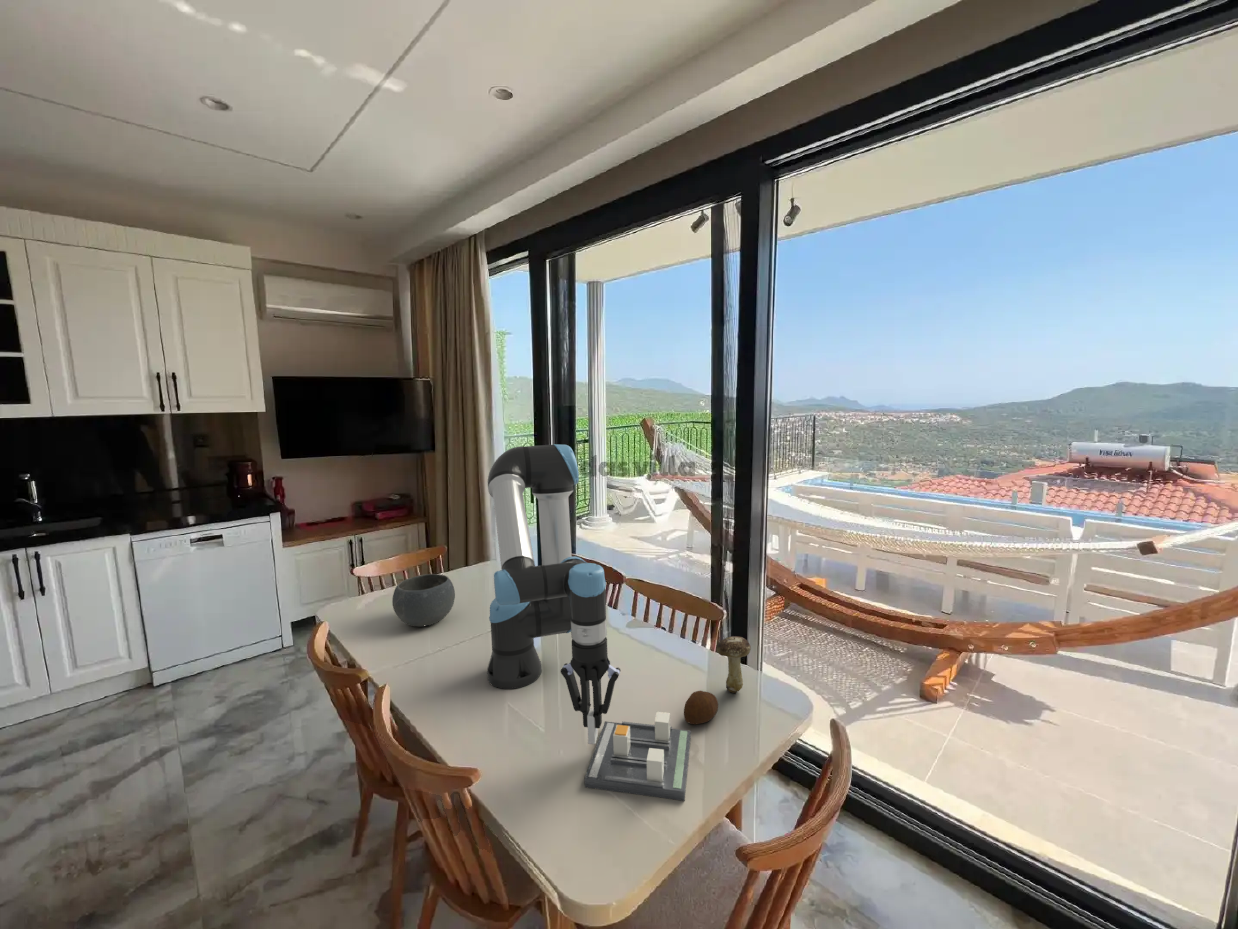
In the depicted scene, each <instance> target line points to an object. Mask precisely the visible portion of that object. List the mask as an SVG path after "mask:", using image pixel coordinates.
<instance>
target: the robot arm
mask: <svg viewBox="0 0 1238 929" xmlns="http://www.w3.org/2000/svg"><path fill="white" fill-rule="evenodd" d="M579 476H580V474H579V467H578V462H577V458H576V456H575V452H574V451H573V449H572V447H571V446H569V445H567V444H557V443H556V444H555V443H554V444H545V445H544V444H543V445H528V446H527V445H526V446H515V447H512V448H511V447H510V448H509V449H507V450H506V451H503V453H502V454H501V455H500V456H498V457H497V459H495V461H494V462H493V464H492V466H491V468H490V470H489V472H488V476H487V477H488V479H487V491H488V494H489V496H490V497H492V499H493V507H494V508H493V509H494V516H495V526H496V534H497V543H498V549H499V552H498V553H499V559H500V567H501V568H500V569H501V570H496V571H495V572H494V574H493V584H494V585H493V586H494V587H493V589H494V599H493V600H492V601H491V603H490V605H489V617H488V619H489V622H490V635H491V637H490V638H491V655H490V658H489V662H488V666H487V669H486V671H487V672H486V677H487V681H489V682H490V683H491V684H492V685H491V684H490V683H489V682H488V683H489V684H490V685H491V686H493V687H495V688H497V687H498V689H503V690H512V689H519V688H522V687H523V688H524V687H526V686H529V685H530V684H532V683H534V682H535V681H537V680H538V679H539V678H540V676H541V675H542V663H541V659H540V657H539V653H538V652H537V649H536V647H535V641H534V640H535V639H536V638H542V637H548V636H555V635H560V634H571V655H572V656H571V657H572V658H571V660H570V662H569V663H568V662H567V663H564V664H563V666H562V668H561V669H560V674H561V675H562V677H563V678H564V680H565V682H566V685H567V690H568V693H569V697H570V700H571V704H572V706H573V707H572V708H573V710H574V711H575V712H580V713H582V725H583V728H587V743H588V744H589V745H596V744H597V741H598V739H599V734H598V733H599V729H601V725H602V722H603V719H602V717H603V714H604V715H607V714H608V711H609V709H610V706H611V702H612V701H611V700H612V697H613V692H614V688H615V684H616V681H617V680H618V679H619V677H620V674H621V668H620V667H615V666H613V665H611V661H610V659H609V657H608V656H609V655H608V639H607V635H608V629H607V606H606V603H607V602H606V601H607V599H606V597H607V596H606V585H607V582H606V579H605V576H606V575H605V570H604V567H603V566H601V565H600V564H597V563H593V562H592V563H591V562H587V561H586V560H584V559H583V558H581V557H579V556H574V555H572V554H573V553H572V540H571V539H572V537H571V523H570V521H571V520H570V517H571V516H570V506H569V505H570V504H569V497H570V495H572V494H573V492H574V486H576V485H577V484H579V481H580V480H579ZM528 488H530V489H531V493H532V495H533V496H534V497H535V498H536V499H537V501H538V502H537V504H538V517H539V519H538V521H539V533H540V534H539V535H540V550H541V565H536V564H535V557H534V551H533V545H532V540H531V534H530V529H529V522H528V517H527V513H526V512H527V510H526V504H525V500H524V495H523V494H524V492H525V489H528ZM574 672H575V673H576V674H577V677H578V678H579V685H580V689H579V686H578V682H577V678H576V675H575V673H574ZM606 672H608V673H607V677H608V679H609V680H608V681H607V682H608V683H607V686H606V691H605V695H604V699H603V701H602V678H603V677H604V675H605V674H606ZM590 681H591V683H590ZM590 684H591V687H592V701H593V702H592V703H591V688H590ZM580 693H581V694H580ZM602 702H603V703H602ZM592 704H593V708H591V706H592Z"/></svg>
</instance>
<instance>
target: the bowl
mask: <svg viewBox="0 0 1238 929" xmlns="http://www.w3.org/2000/svg"><path fill="white" fill-rule="evenodd" d="M455 598H456V592H455V587H454V584H453V582H452V580H451V579H450V578H449V577H448V576H447V575H445V574H439V573H438V574H437V573H427V574H426V573H425V574H421V575H416V576H413V577H409V578H407V579H404V580H402V581H400V582H399V583H398V584H397V585H396V586H395V589H394V590H393V594H392V607H393V608H392V609H393V611H394V614H396V616H397V617H398V619H399V620H400V621H401V622H403V623H404V624H406V625H408V626H412V625H414V626H413V627H425V626H424V625H429V626H431V625H430V624H432V625H434V624H433V623H435V624H437V623H439V622H441V621H442V620H443V619H444V618H445V617H446V616H448V615H449V613H450V612H451V611H452V609H453V606H454V603H455ZM438 621H439V622H438ZM436 622H437V623H436Z"/></svg>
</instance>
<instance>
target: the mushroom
mask: <svg viewBox="0 0 1238 929" xmlns="http://www.w3.org/2000/svg"><path fill="white" fill-rule="evenodd" d="M751 649H752V648H751V644H750V642H749V641H748V640H747V639H746V638H744V637H743V636H738V635H737V636H736V635H735V636H734V635H732V636H728V637H725V638H723V639H722V640H720V641H719V642H718V643H717V645H716V651H717V653H718V654H719V655H720V656H722V657H727V659H728V662H727V665H728V666H727V670H728V674H727V678H726V680H725V689H726V690H727V691H728V692H729V693H731V694H736V693H737V692H740V690H741V689H743V685H744V680H743V674H742V667H741V662H742V661H741V658H743V657H747V656H748V655H749V654H750V653H751Z"/></svg>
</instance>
